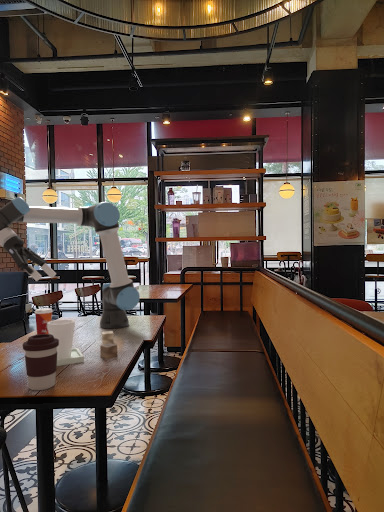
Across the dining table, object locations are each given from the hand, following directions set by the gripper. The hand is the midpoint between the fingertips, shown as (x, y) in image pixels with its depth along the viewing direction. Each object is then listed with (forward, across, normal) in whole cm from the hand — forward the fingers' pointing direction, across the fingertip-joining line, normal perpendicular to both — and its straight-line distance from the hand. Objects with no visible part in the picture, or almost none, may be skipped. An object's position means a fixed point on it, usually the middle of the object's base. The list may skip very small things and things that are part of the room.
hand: (47, 277), depth 145 cm
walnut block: (+41, +10, -1) cm, 42 cm away
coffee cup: (+32, +39, -10) cm, 52 cm away
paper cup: (+15, -16, -28) cm, 35 cm away
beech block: (+36, -10, -6) cm, 38 cm away
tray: (+29, +14, -13) cm, 35 cm away
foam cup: (+28, +14, -12) cm, 34 cm away
